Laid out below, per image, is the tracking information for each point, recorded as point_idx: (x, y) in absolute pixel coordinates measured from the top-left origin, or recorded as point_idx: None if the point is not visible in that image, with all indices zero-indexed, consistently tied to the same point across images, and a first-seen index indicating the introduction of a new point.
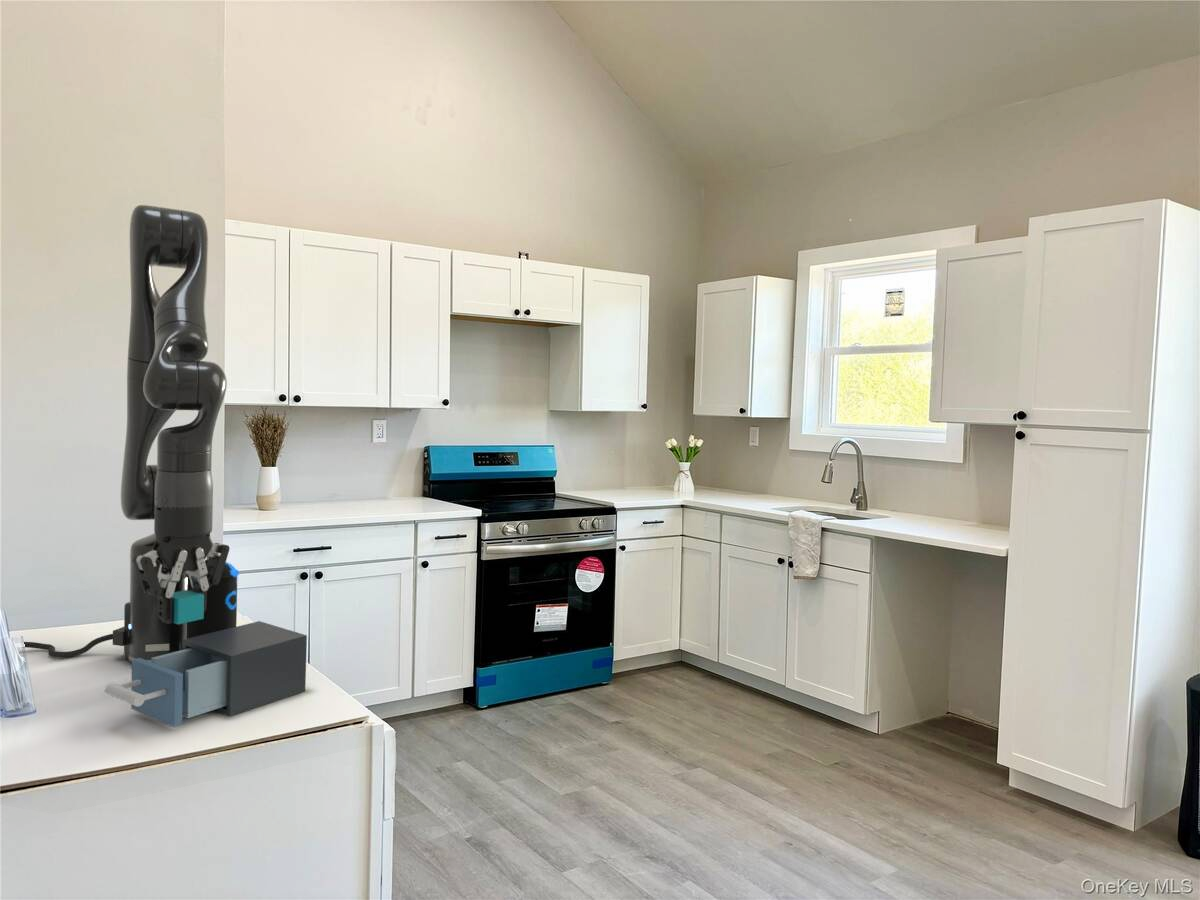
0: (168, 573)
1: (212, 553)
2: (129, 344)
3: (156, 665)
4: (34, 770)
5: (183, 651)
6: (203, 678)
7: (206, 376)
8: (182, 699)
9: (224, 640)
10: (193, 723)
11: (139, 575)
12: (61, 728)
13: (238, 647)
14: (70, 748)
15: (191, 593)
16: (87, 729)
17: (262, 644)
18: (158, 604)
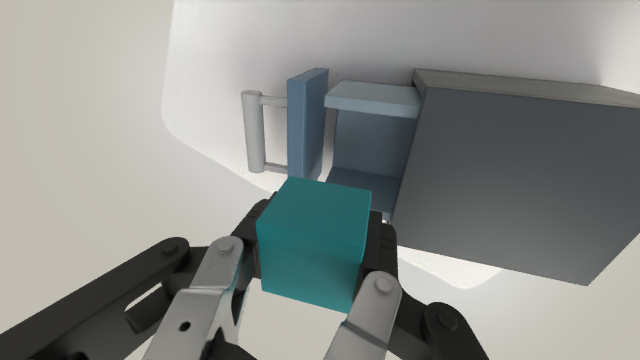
0: (216, 325)
1: None
2: None
3: (297, 149)
4: (179, 122)
5: (395, 115)
6: None
7: None
8: (362, 129)
9: (468, 176)
10: None
11: (74, 299)
12: (233, 27)
13: (435, 226)
14: (219, 102)
15: (333, 284)
16: (254, 63)
17: (477, 250)
18: (239, 226)
